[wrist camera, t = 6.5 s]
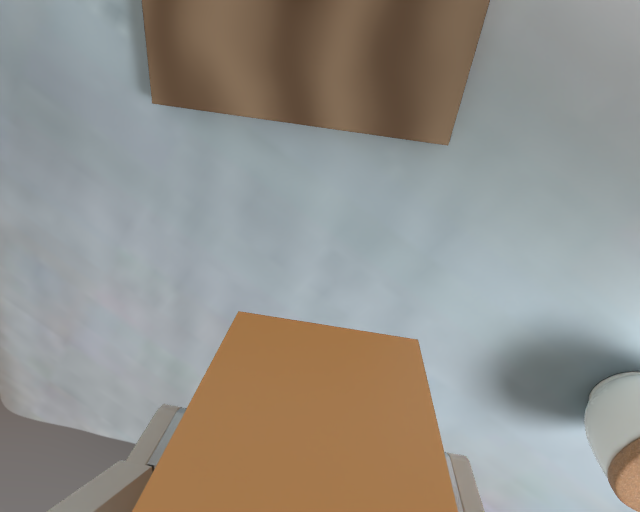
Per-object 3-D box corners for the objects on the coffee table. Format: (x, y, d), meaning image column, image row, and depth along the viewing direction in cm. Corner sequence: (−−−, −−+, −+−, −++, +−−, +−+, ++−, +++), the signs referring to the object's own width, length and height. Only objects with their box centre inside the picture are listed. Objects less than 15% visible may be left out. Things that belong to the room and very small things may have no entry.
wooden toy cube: (417, 339, 10) (475, 587, 5) (381, 451, 12) (396, 690, 7) (238, 311, 10) (126, 523, 5) (238, 427, 13) (161, 643, 8)
